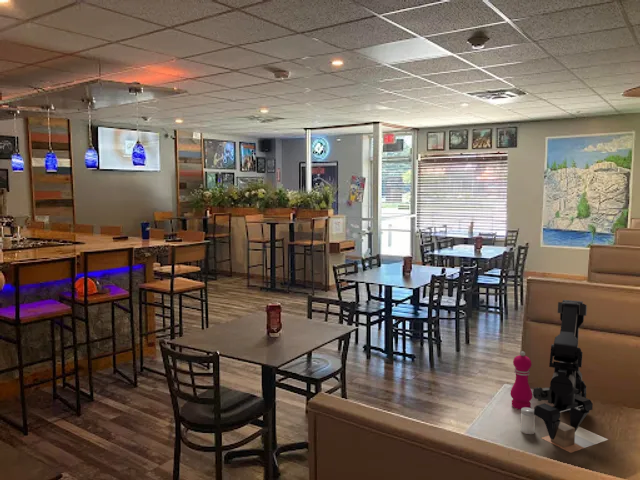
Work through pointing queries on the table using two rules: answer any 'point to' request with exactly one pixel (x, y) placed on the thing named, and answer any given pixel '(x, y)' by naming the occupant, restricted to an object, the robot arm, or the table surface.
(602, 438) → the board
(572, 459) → the table surface
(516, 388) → the pepper mill
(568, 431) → the block
